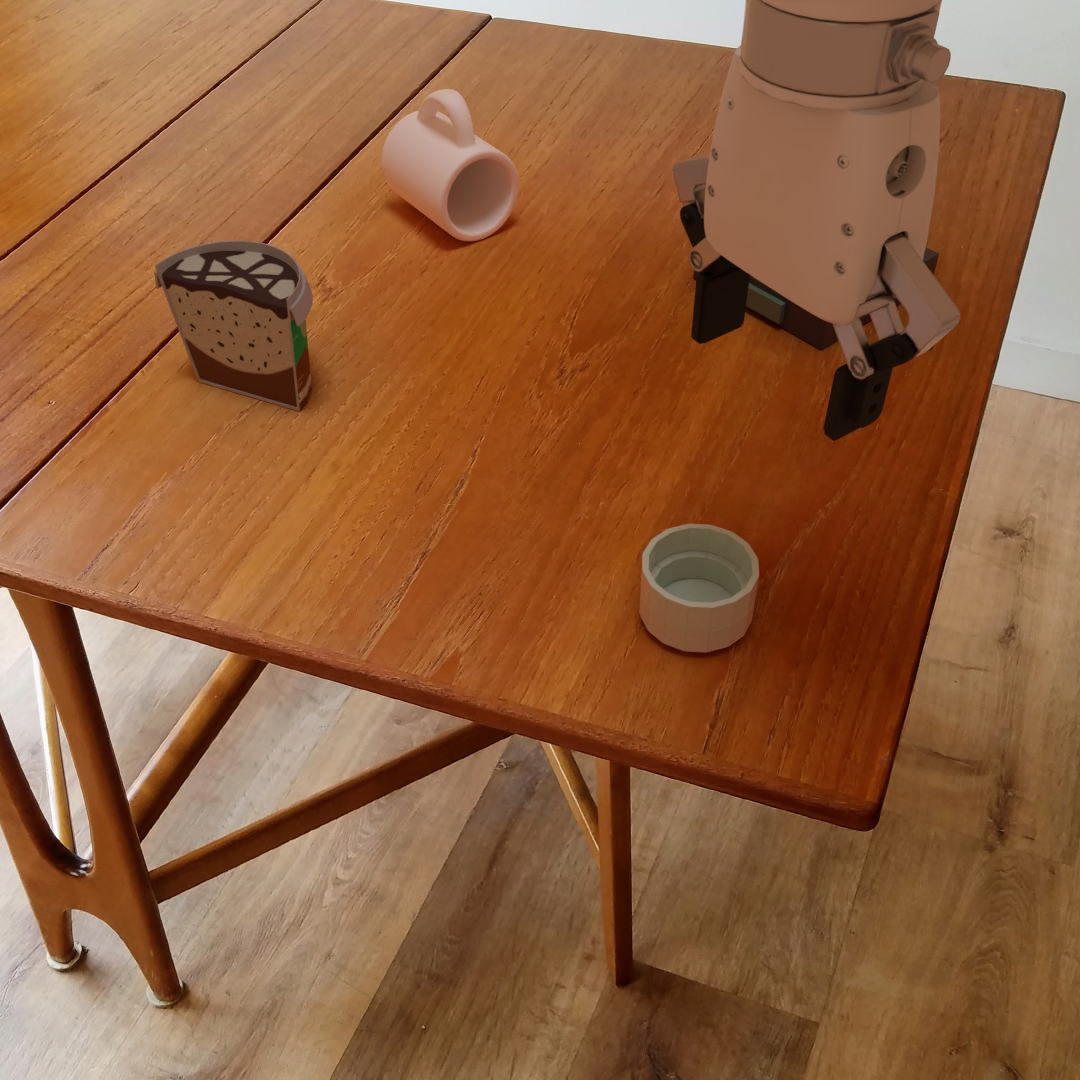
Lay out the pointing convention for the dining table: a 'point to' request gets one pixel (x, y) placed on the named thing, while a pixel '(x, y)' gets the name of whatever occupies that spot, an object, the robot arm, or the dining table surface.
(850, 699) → the dining table surface
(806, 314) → the scale
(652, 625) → the bowl
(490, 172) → the mug
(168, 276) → the food container
